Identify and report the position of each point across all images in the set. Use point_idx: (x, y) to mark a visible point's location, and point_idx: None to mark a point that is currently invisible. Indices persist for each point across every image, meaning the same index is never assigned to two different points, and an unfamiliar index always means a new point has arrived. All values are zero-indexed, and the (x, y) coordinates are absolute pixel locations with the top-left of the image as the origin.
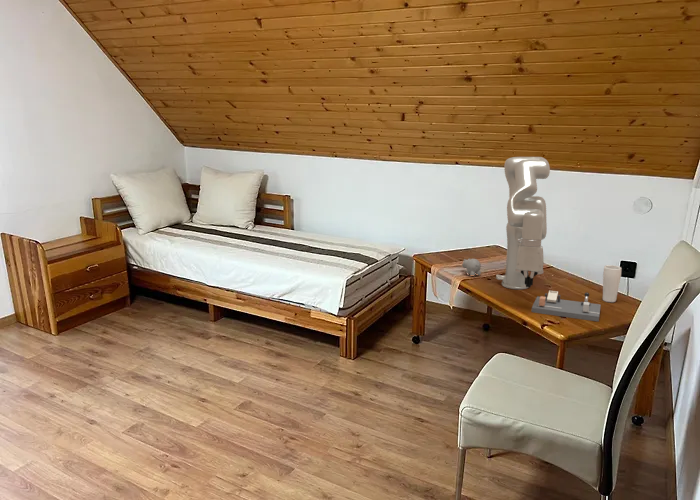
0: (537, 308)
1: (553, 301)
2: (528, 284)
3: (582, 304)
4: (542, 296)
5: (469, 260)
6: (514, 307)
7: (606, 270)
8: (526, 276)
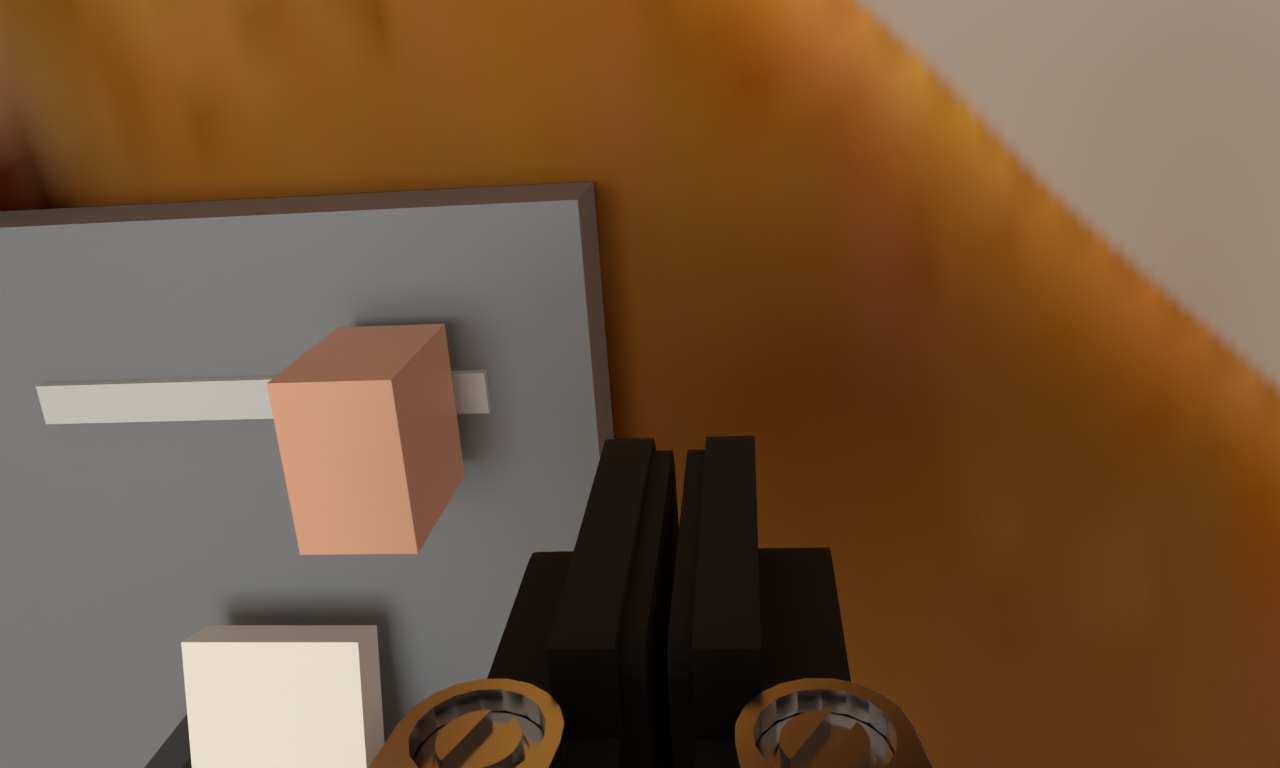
0: (456, 202)
1: (244, 630)
2: (659, 496)
3: None
4: (372, 548)
5: None
6: (971, 303)
7: None
8: (776, 747)
